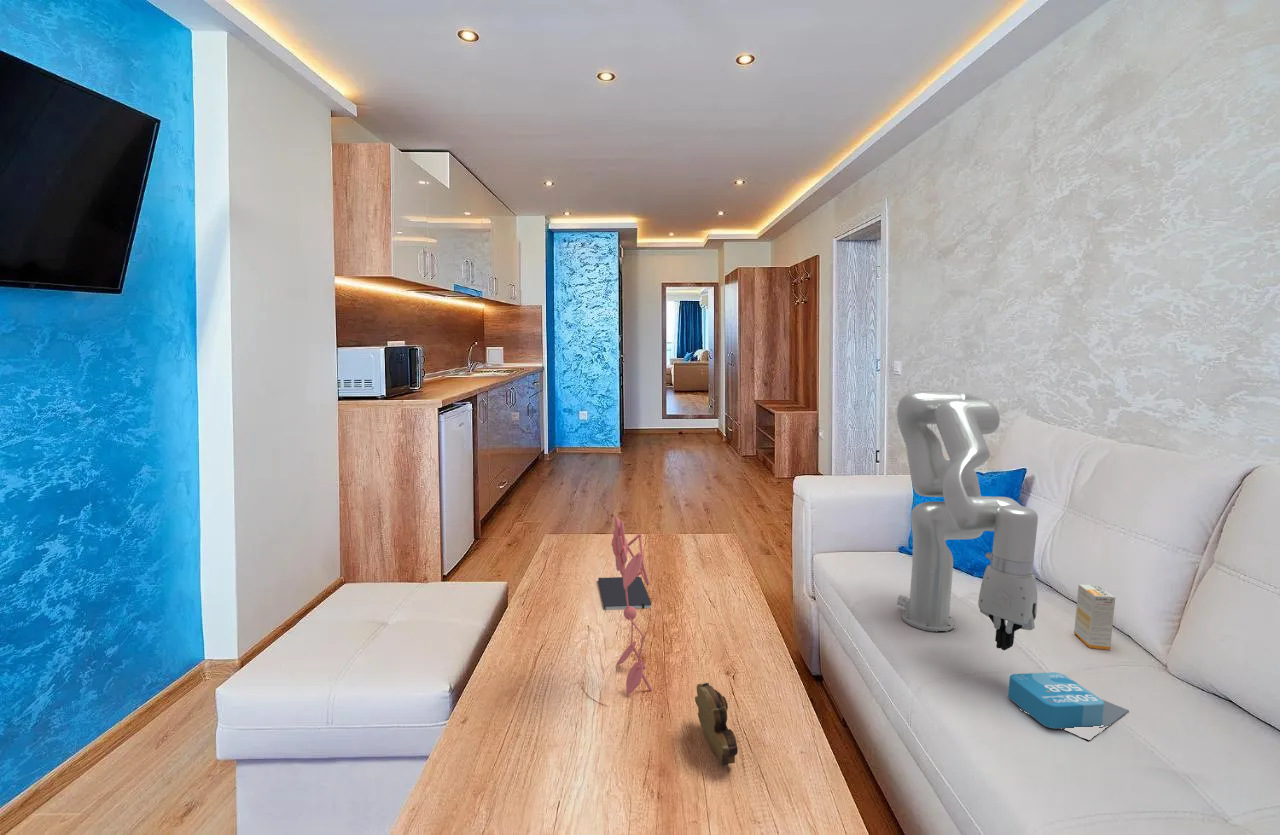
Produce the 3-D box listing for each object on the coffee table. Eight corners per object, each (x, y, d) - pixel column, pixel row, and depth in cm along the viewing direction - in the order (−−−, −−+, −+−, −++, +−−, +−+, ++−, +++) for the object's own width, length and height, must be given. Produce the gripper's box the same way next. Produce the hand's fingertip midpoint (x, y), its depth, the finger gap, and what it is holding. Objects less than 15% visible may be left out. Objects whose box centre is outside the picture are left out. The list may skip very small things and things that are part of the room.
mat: (1019, 710, 126) (1019, 708, 126) (1061, 684, 136) (1061, 683, 136) (1088, 741, 116) (1088, 740, 116) (1128, 711, 126) (1129, 710, 126)
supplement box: (1111, 650, 152) (1117, 597, 151) (1088, 648, 153) (1094, 595, 152) (1094, 635, 160) (1099, 584, 159) (1072, 633, 161) (1077, 583, 160)
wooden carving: (747, 773, 106) (749, 716, 105) (721, 778, 104) (723, 720, 103) (708, 718, 121) (710, 667, 120) (686, 721, 120) (687, 670, 119)
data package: (1060, 671, 132) (1109, 703, 120) (1058, 692, 132) (1106, 726, 121) (1005, 673, 131) (1049, 706, 119) (1004, 694, 131) (1047, 729, 119)
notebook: (598, 582, 191) (604, 612, 170) (598, 577, 191) (604, 606, 170) (640, 581, 193) (652, 610, 172) (640, 576, 193) (652, 604, 172)
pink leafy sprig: (643, 649, 148) (643, 500, 144) (662, 713, 123) (662, 534, 119) (576, 654, 146) (574, 503, 142) (581, 719, 121) (578, 538, 117)
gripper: (967, 557, 139) (960, 638, 141) (1042, 579, 127) (1032, 667, 129) (985, 551, 143) (977, 629, 145) (1059, 572, 131) (1049, 657, 133)
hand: (1003, 647), depth 137 cm, fingers closed
